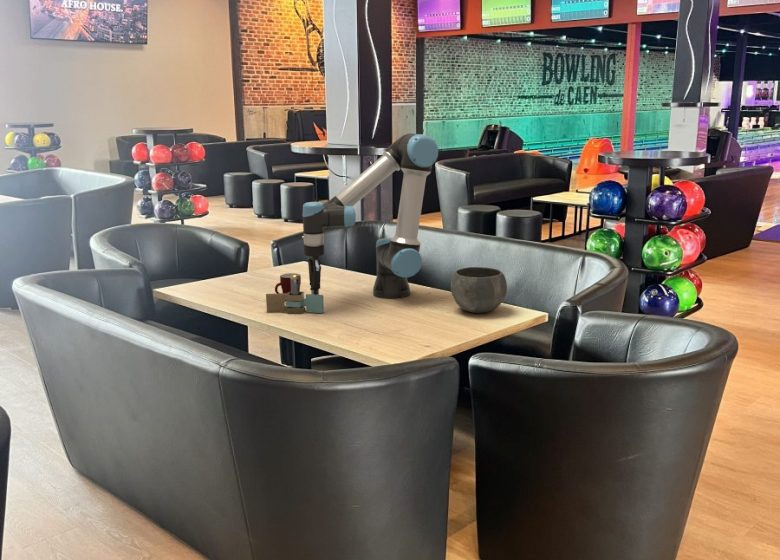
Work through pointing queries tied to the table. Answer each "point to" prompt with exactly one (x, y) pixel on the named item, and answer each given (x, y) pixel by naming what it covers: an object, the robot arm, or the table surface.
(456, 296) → the bowl
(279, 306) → the square hinge knuckle
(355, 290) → the table surface
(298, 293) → the pin
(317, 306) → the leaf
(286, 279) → the mug
